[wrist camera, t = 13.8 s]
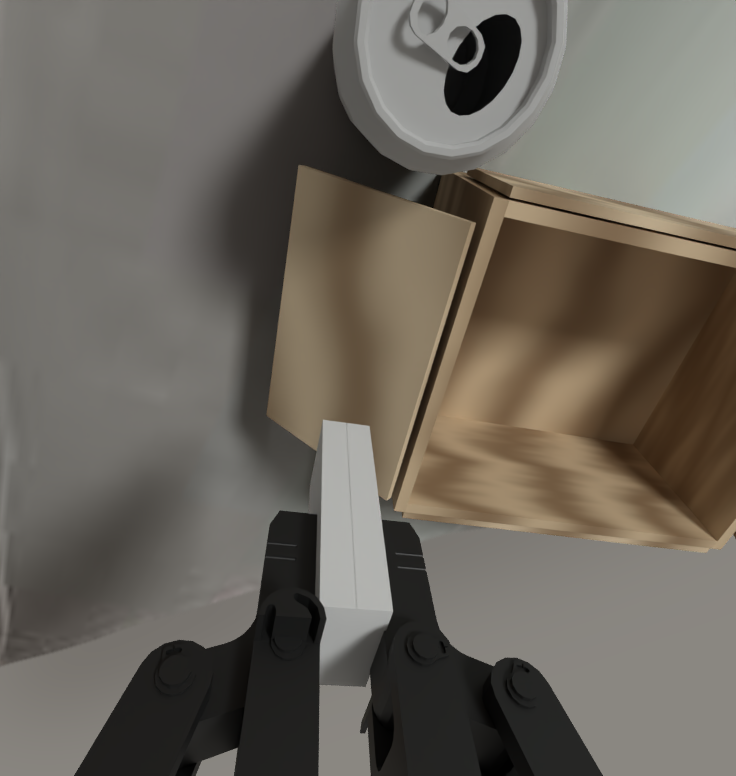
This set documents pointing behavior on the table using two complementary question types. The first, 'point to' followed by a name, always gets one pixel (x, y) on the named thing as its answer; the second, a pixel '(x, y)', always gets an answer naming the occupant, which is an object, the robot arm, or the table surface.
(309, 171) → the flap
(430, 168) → the can
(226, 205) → the table surface
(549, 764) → the robot arm
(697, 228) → the carton
